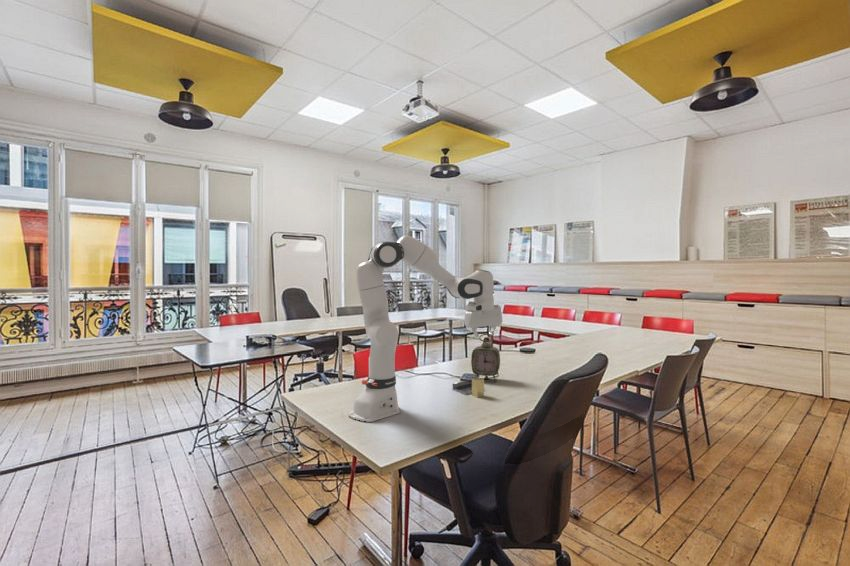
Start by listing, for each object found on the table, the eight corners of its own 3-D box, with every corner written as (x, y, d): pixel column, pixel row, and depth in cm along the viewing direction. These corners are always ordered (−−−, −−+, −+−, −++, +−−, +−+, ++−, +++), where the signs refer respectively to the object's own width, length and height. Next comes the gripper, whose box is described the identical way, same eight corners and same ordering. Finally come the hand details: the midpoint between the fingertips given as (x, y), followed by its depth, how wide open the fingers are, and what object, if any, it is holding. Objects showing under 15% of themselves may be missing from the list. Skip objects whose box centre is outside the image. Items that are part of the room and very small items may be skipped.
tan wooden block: (484, 396, 186) (484, 379, 186) (477, 397, 184) (477, 380, 183) (478, 394, 189) (478, 377, 189) (471, 395, 187) (471, 378, 187)
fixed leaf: (484, 390, 195) (484, 383, 194) (465, 394, 188) (465, 387, 188) (471, 385, 203) (471, 378, 203) (452, 389, 196) (452, 382, 196)
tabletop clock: (471, 381, 211) (471, 334, 211) (474, 376, 220) (473, 332, 219) (498, 383, 207) (498, 335, 206) (500, 378, 216) (500, 333, 215)
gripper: (495, 303, 188) (495, 332, 188) (462, 306, 176) (462, 337, 177) (505, 304, 182) (505, 334, 183) (471, 307, 171) (471, 339, 172)
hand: (484, 335), depth 180 cm, fingers open, 8 cm apart
